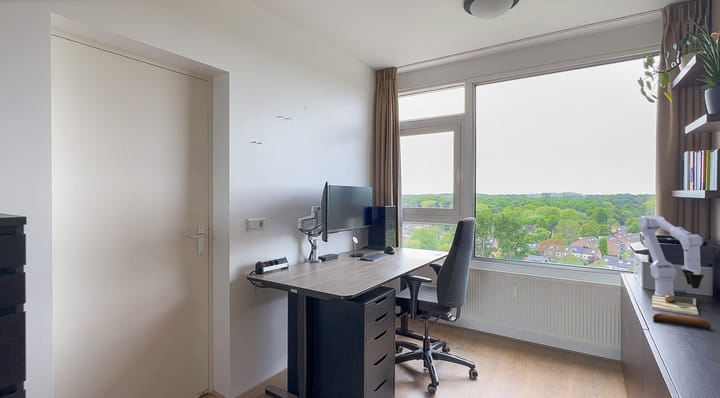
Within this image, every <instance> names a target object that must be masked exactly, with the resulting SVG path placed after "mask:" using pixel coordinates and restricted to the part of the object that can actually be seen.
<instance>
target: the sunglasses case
mask: <svg viewBox="0 0 720 398" xmlns="http://www.w3.org/2000/svg"><path fill="white" fill-rule="evenodd" d="M652 322H653V323H654V322H655V323H664V324H666V323H667V324H675V325H676V324H677V325H680V326H681V325H682V326H691V327H697V328H702V329H703V328H704V329H709V330H710V331H711V330H712V327H711V323H710V321H708V319H707V320H706V319H704V318H700V317H696V316H691V315H690V316H688V315H687V316H685V315H679V314H678V315H675V314H670V313H664V312H663V313H662V312H661V313H656V314H655V313H654V315H653V316H652Z"/></svg>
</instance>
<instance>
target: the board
mask: <svg viewBox="0 0 720 398" xmlns="http://www.w3.org/2000/svg"><path fill="white" fill-rule="evenodd" d="M651 297H652V299H651V309H652V310H657V311H662V312H663V311H664V312H670V313H671V312H672V313H678V314H683V315H684V314H685V315H686V314H687V315H690V316H691V315H692V316H699V311H698V309H697V304H696V305H692V304H685V303H677V302H676V303H671V302H666V301H665V297H662V296H655V295H651Z"/></svg>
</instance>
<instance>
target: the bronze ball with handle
mask: <svg viewBox="0 0 720 398" xmlns="http://www.w3.org/2000/svg"><path fill="white" fill-rule="evenodd" d="M665 301H666V302H671V303H676V302H677V303H685V304H692V305H696V306H697V298H694V297H693V298H692V297H684V296H678V295H677V296H676V295H674V296H673V295H665Z"/></svg>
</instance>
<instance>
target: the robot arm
mask: <svg viewBox="0 0 720 398" xmlns="http://www.w3.org/2000/svg"><path fill="white" fill-rule="evenodd" d="M637 223H638V226H639V229H640V231H641V234H642V236H643V239H644V241H645V243H646V246H647V250H648V252H649V254H650V257H651V259H652V263H651V264H650V266H649V268H650V274H651V276H652V278H653V279H655V280H654V281H655V282H654V284H655V285H654V286H655V291H654V296H658V297H665V295H673V296H675V293H674V280H675V278H677V276H678V272H677V270H676V268H675V267H674V265H673V263H671V262H670V261H668V260H666V257H665V254H664V253H663V252H664V251H663V250H662V247H661V246H660V242H659V240H658V237H657V235H656V233H657V232H658V231H659V230H660V229H663V230H665V231H666V232H668V233H669V235H670V236H671V237H673V238H674V239H675V240H678V241H679V243H680V244H681V246H682V247H681V248H682V250H683V260H684V261H683V262H684V265H683V266H681V269H682V270H681V271H682V272H683V274H684V277H685V280H686V283H687V285H688V286H689V285H691V287H692V289H700V286H701V285H700V284H701V282H702V280H703V279H704V276H705V275H704V274H701V271H702V268H701V246H703V244H704V238H703V237H702V236H701V235H700V234H697V233H696V234H693V233H692V232H691V231H687V230H686V229H685V228H684V227H682V226H674V225H673V224H671V223H670V222H669V221H667V220H666V219H665V217H663V216H661V215H642V216H640V217H639V219H638V222H637Z"/></svg>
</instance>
